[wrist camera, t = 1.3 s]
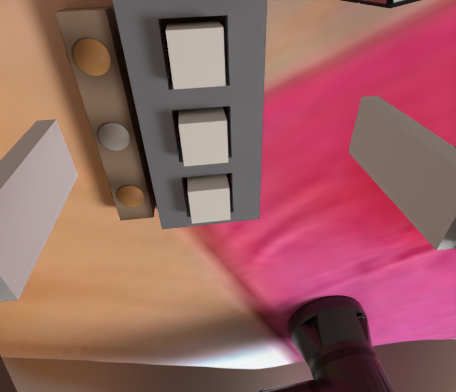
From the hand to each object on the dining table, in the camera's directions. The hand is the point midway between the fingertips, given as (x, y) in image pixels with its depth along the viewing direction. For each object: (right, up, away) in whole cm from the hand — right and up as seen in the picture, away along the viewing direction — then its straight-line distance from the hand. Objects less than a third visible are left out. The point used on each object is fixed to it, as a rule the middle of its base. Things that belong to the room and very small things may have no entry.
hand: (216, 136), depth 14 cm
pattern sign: (-11, +5, +19) cm, 23 cm away
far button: (-2, -1, +23) cm, 23 cm away
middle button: (-2, +5, +19) cm, 19 cm away
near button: (-2, +11, +14) cm, 18 cm away
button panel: (-2, +6, +20) cm, 21 cm away
